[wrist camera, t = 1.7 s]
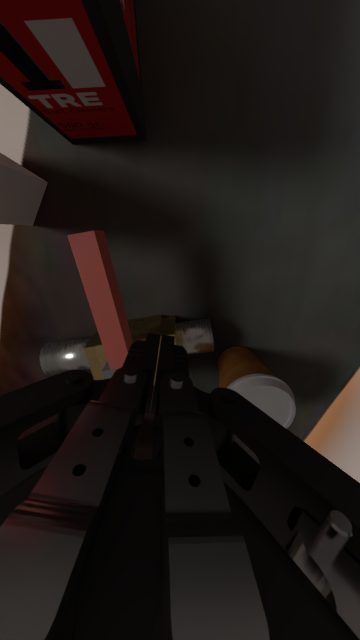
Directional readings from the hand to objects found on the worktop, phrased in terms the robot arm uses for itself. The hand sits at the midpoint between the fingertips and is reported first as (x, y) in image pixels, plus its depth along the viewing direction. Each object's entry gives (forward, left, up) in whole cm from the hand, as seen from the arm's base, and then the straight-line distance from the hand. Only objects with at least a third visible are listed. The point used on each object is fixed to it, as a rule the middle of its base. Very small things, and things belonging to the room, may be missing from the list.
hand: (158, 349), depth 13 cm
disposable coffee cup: (-9, +16, -22) cm, 29 cm away
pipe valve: (+8, +9, -22) cm, 25 cm away
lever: (+6, +2, -13) cm, 15 cm away
